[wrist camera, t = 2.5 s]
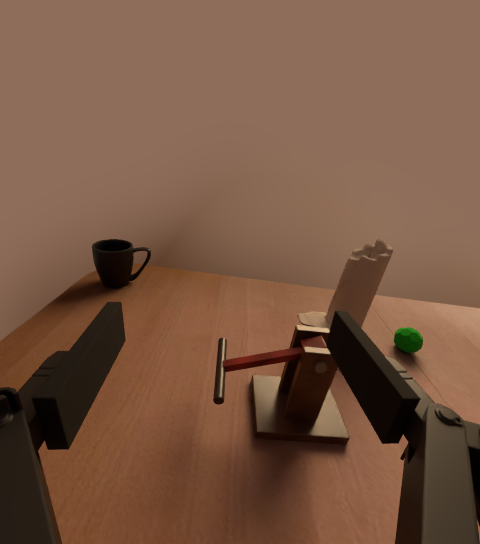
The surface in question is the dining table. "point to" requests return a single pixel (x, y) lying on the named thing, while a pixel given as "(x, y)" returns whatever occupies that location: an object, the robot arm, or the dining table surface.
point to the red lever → (255, 361)
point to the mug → (116, 262)
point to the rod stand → (300, 397)
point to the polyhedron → (408, 340)
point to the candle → (355, 285)
